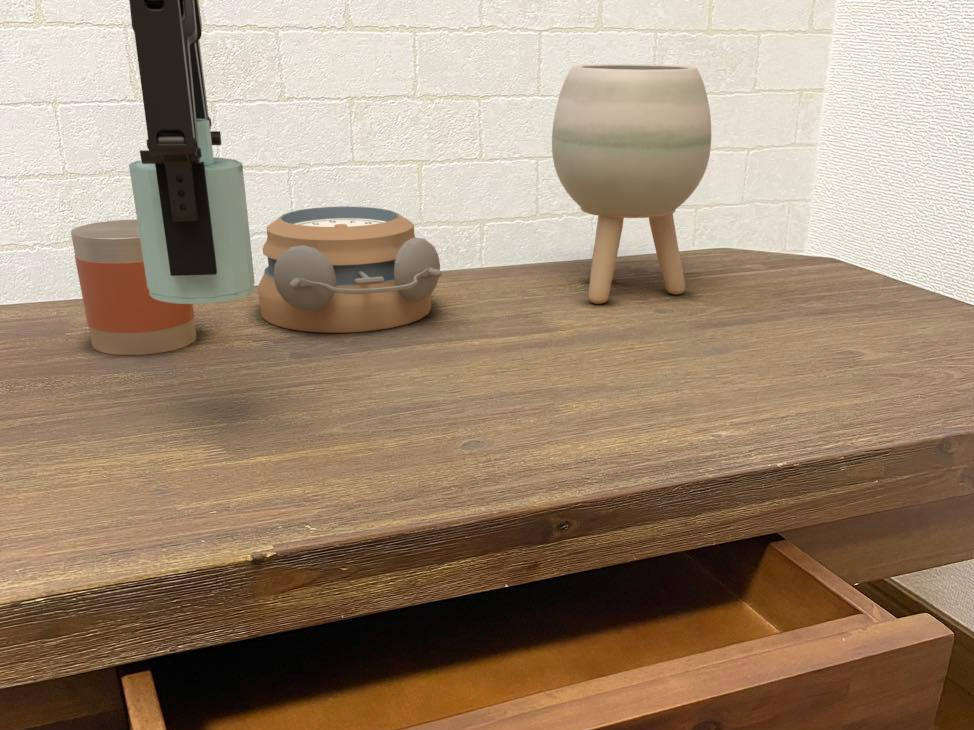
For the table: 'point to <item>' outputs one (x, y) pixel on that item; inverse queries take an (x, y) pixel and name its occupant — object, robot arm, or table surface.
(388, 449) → the table surface
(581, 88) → the planter
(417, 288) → the alarm clock
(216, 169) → the bottle
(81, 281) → the tin can
